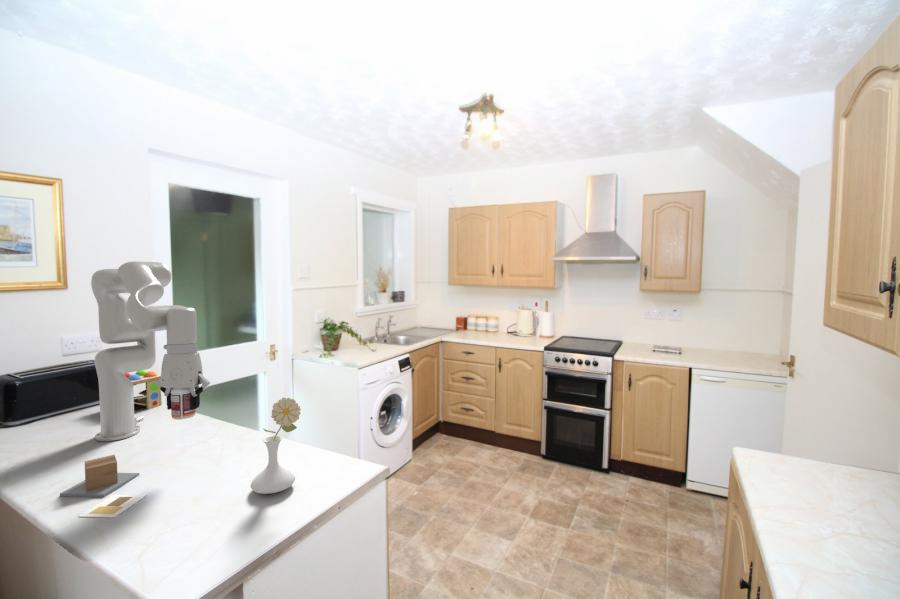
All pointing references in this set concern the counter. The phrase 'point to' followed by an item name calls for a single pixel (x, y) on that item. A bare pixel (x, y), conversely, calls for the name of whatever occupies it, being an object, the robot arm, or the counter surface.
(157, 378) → the pounding bench toy
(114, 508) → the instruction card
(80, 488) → the slate plate
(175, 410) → the pill bottle
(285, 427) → the flower in vase
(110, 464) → the walnut block
